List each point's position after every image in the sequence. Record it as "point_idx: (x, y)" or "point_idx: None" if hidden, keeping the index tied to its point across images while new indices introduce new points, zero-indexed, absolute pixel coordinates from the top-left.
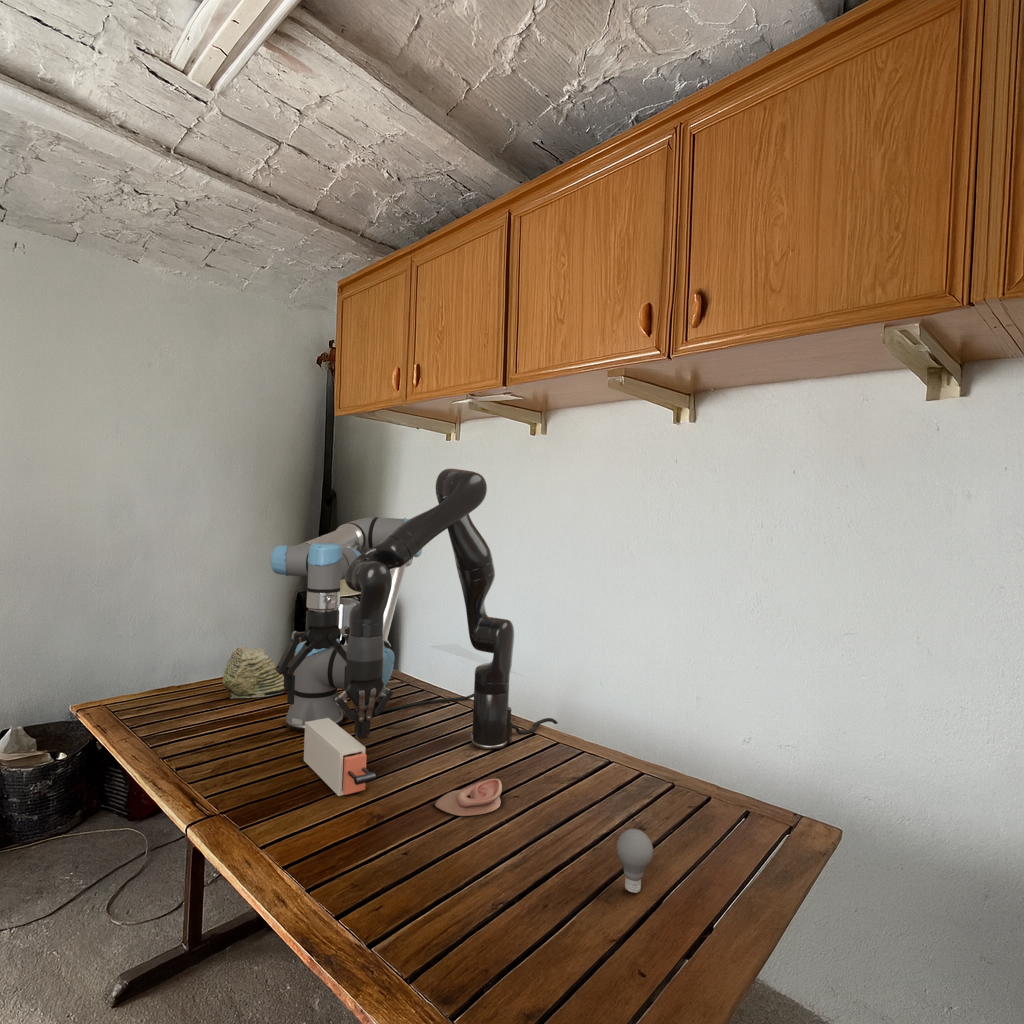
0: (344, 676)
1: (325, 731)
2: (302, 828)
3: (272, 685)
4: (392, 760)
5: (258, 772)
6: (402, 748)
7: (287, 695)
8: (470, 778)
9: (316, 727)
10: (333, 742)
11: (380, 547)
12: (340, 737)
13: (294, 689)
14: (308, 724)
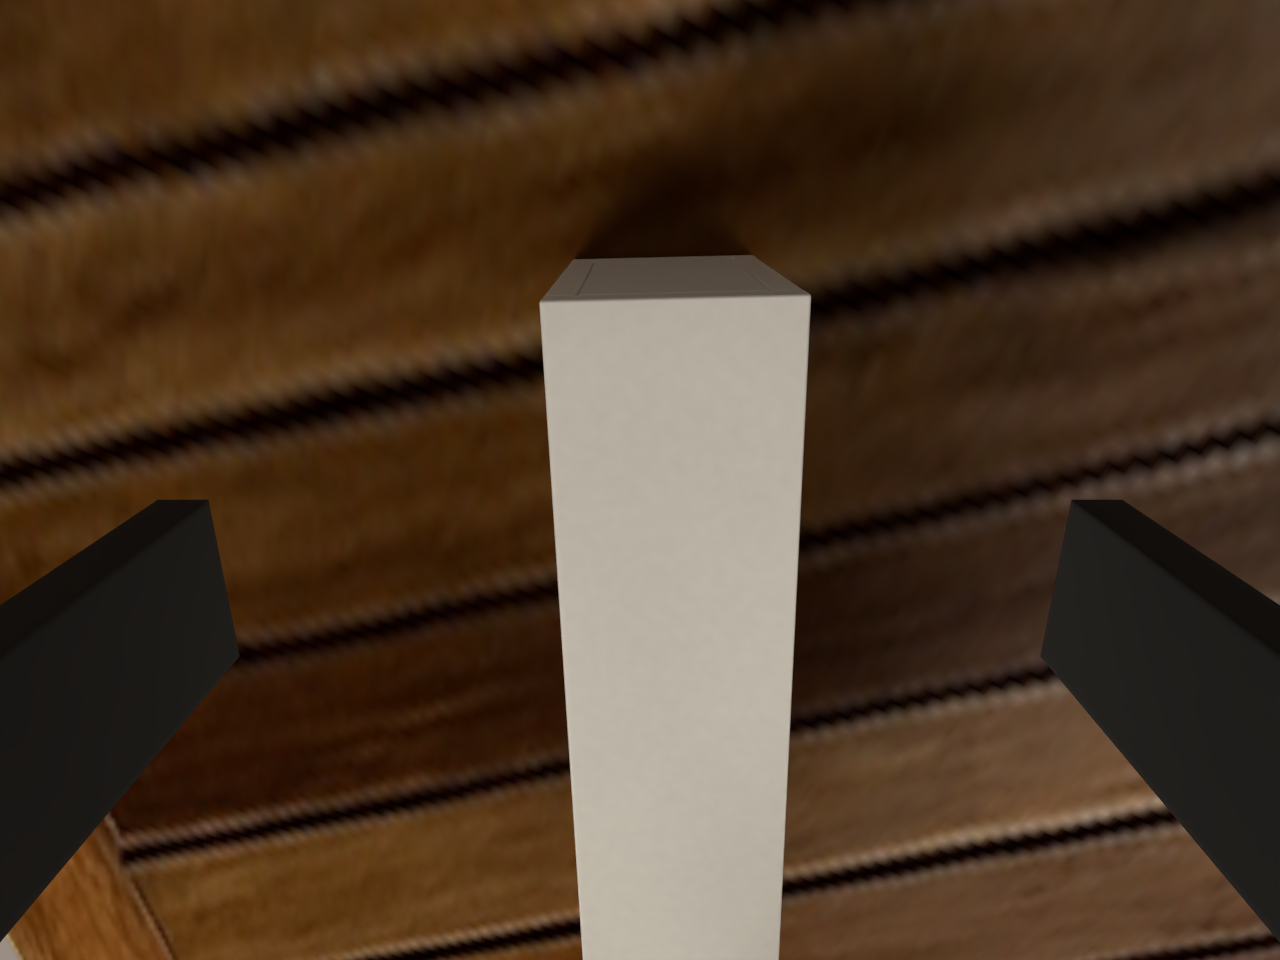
0: (1266, 647)
1: (636, 636)
2: (371, 954)
3: None
4: None
5: (247, 300)
6: (1266, 407)
7: (101, 543)
8: (1253, 919)
9: (596, 509)
10: (610, 858)
11: None
12: (696, 801)
13: (109, 807)
14: (549, 397)
